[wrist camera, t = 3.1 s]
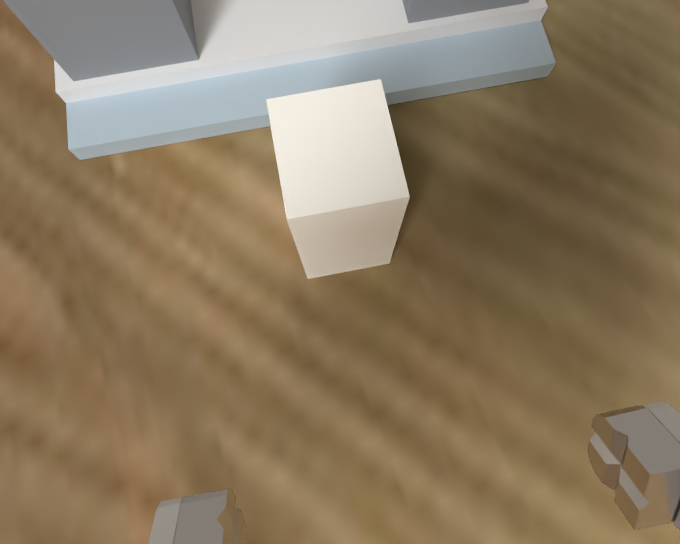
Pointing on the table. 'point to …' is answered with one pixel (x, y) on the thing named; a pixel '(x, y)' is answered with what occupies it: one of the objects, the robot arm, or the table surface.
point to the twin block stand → (265, 58)
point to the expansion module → (339, 176)
